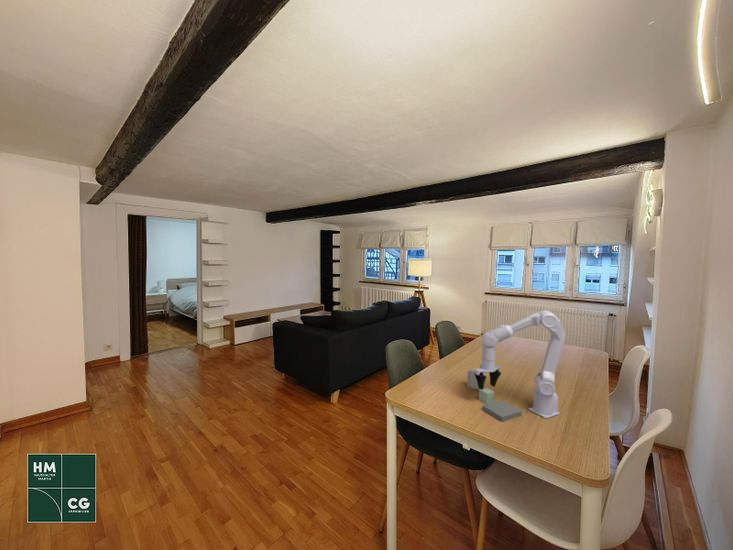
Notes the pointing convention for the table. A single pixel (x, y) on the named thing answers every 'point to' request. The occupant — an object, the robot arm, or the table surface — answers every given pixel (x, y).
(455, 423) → the table surface
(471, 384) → the medicine box
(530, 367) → the table surface
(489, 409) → the slate plinth
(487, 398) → the sage cube
